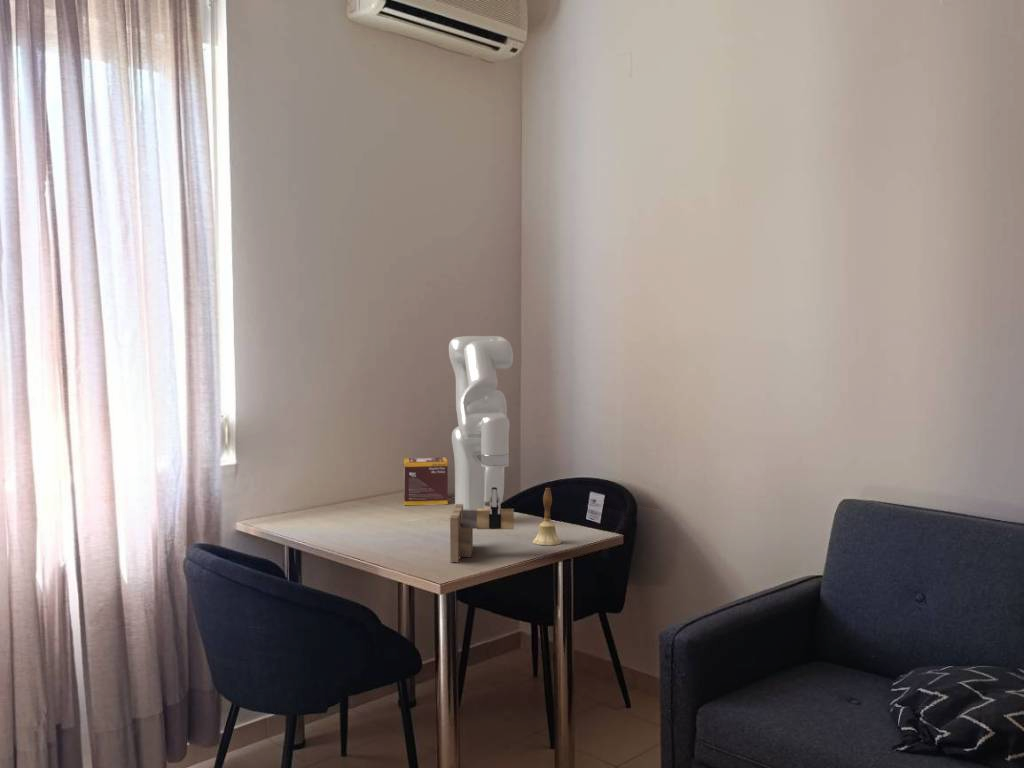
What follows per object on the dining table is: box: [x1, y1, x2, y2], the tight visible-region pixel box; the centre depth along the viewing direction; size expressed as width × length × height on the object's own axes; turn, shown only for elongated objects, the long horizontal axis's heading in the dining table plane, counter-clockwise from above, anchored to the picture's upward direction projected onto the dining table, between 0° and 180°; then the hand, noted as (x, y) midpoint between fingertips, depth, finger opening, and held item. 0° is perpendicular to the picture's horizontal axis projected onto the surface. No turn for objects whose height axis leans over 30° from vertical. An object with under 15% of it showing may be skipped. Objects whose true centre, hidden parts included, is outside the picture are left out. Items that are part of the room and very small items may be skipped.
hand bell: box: [532, 487, 562, 547], centre depth 272 cm, size 8×8×16 cm
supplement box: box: [403, 456, 449, 506], centre depth 335 cm, size 10×15×16 cm
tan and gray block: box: [462, 508, 515, 530], centre depth 258 cm, size 4×14×5 cm, turn 89°
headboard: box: [449, 504, 474, 563], centre depth 259 cm, size 20×5×12 cm, turn 179°
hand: (495, 526), depth 258 cm, fingers closed on tan and gray block, 3 cm apart
